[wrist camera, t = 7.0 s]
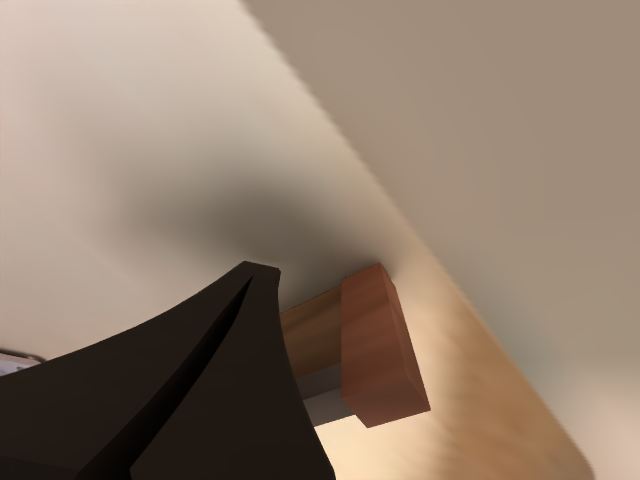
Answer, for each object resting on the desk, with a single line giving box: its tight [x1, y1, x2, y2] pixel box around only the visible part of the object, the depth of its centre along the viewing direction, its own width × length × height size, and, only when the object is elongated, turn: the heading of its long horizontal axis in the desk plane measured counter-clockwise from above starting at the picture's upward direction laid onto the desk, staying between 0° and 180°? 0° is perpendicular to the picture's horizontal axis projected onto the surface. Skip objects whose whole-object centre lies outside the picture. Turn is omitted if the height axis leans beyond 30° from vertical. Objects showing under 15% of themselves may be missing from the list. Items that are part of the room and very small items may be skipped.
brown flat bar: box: [280, 263, 431, 428], centre depth 12 cm, size 1×17×5 cm, turn 123°
